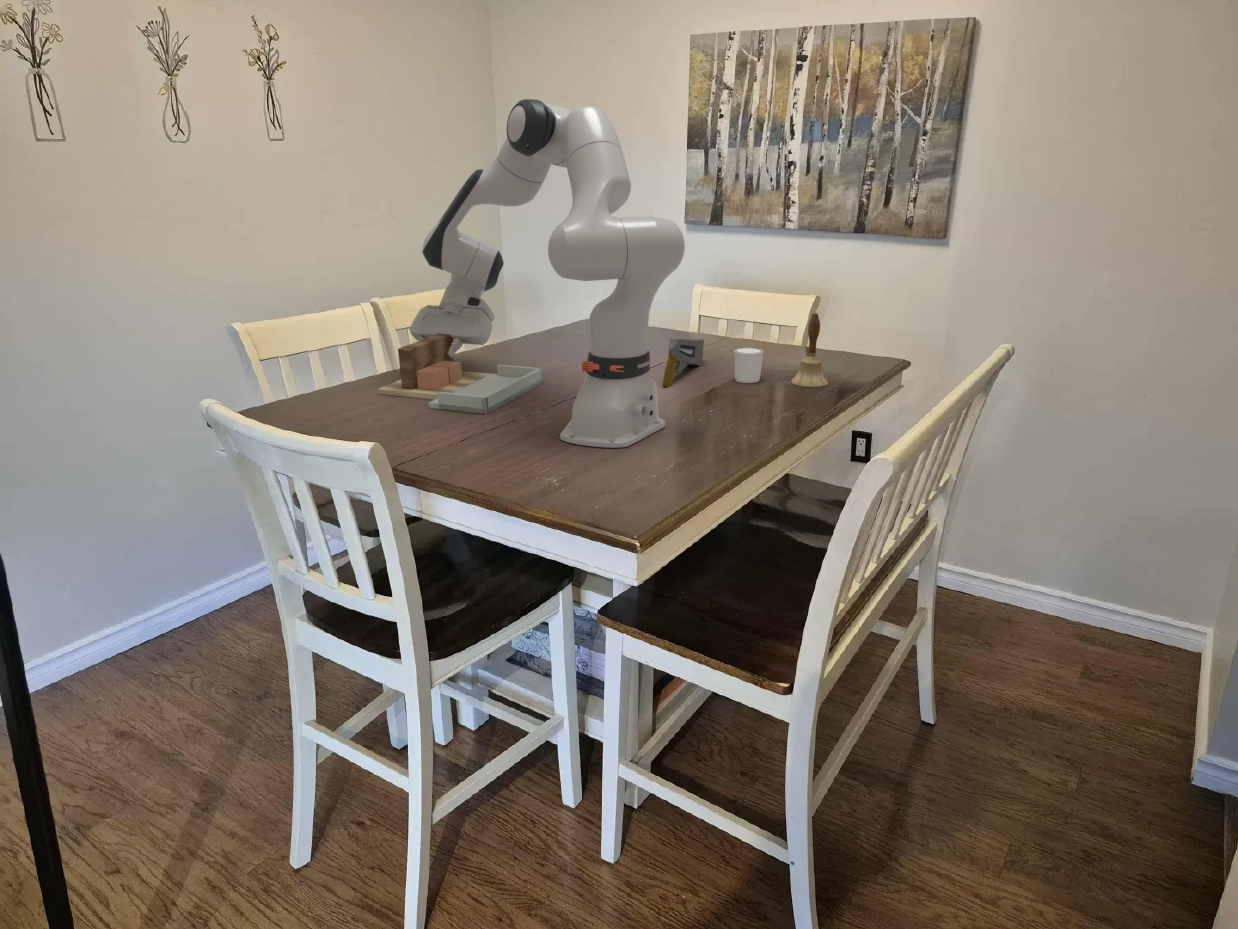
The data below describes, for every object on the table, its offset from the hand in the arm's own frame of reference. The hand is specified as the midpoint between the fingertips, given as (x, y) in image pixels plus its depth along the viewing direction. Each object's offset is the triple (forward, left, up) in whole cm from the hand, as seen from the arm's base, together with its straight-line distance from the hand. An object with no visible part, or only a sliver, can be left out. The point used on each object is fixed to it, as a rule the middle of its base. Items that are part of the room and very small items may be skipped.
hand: (440, 355), depth 195 cm
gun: (+25, -52, -6) cm, 58 cm away
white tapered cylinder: (+24, -68, -6) cm, 72 cm away
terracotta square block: (-4, -4, -5) cm, 7 cm away
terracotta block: (-9, -4, -5) cm, 11 cm away
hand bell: (+26, -82, -6) cm, 86 cm away
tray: (-7, -17, -6) cm, 19 cm away
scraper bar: (-5, 0, -4) cm, 6 cm away
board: (-5, -2, -6) cm, 8 cm away
